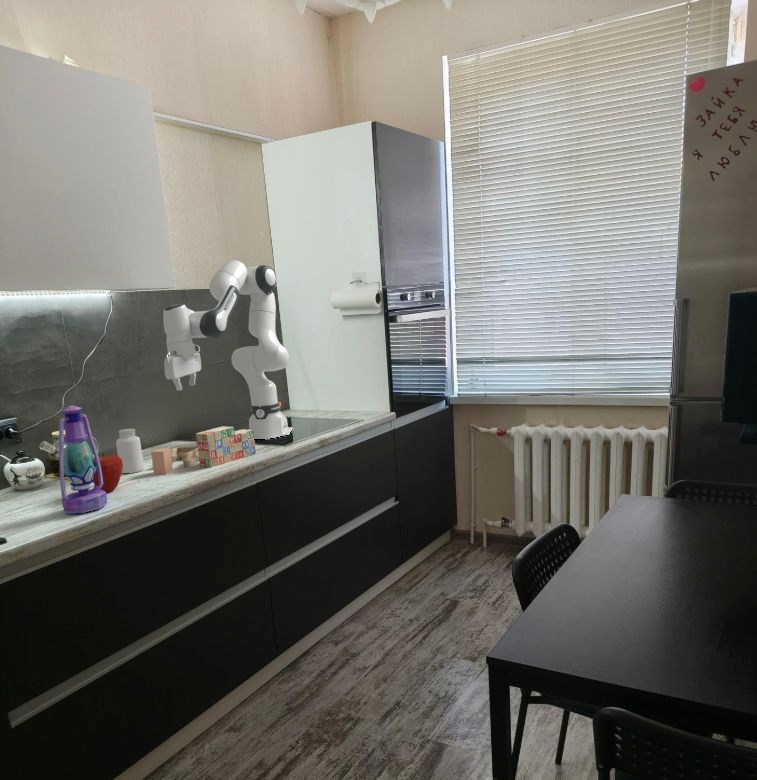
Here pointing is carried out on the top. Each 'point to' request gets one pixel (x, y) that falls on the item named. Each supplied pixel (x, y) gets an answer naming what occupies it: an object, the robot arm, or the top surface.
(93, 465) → the lantern
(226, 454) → the stack of blocks
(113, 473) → the apple
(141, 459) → the pill bottle
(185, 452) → the oak u-shaped frame
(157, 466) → the terracotta block
